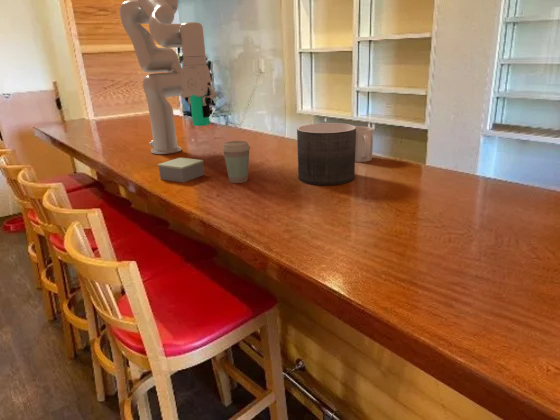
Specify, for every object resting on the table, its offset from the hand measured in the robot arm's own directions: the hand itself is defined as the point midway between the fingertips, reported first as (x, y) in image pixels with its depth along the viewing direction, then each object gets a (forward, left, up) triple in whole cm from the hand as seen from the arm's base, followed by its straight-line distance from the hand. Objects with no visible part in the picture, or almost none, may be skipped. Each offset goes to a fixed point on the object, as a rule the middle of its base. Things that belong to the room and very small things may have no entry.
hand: (200, 116), depth 149 cm
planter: (+48, +2, -18) cm, 51 cm away
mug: (+49, +28, -18) cm, 59 cm away
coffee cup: (+24, -12, -18) cm, 32 cm away
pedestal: (+4, -16, -17) cm, 24 cm away
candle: (0, 0, -3) cm, 3 cm away
